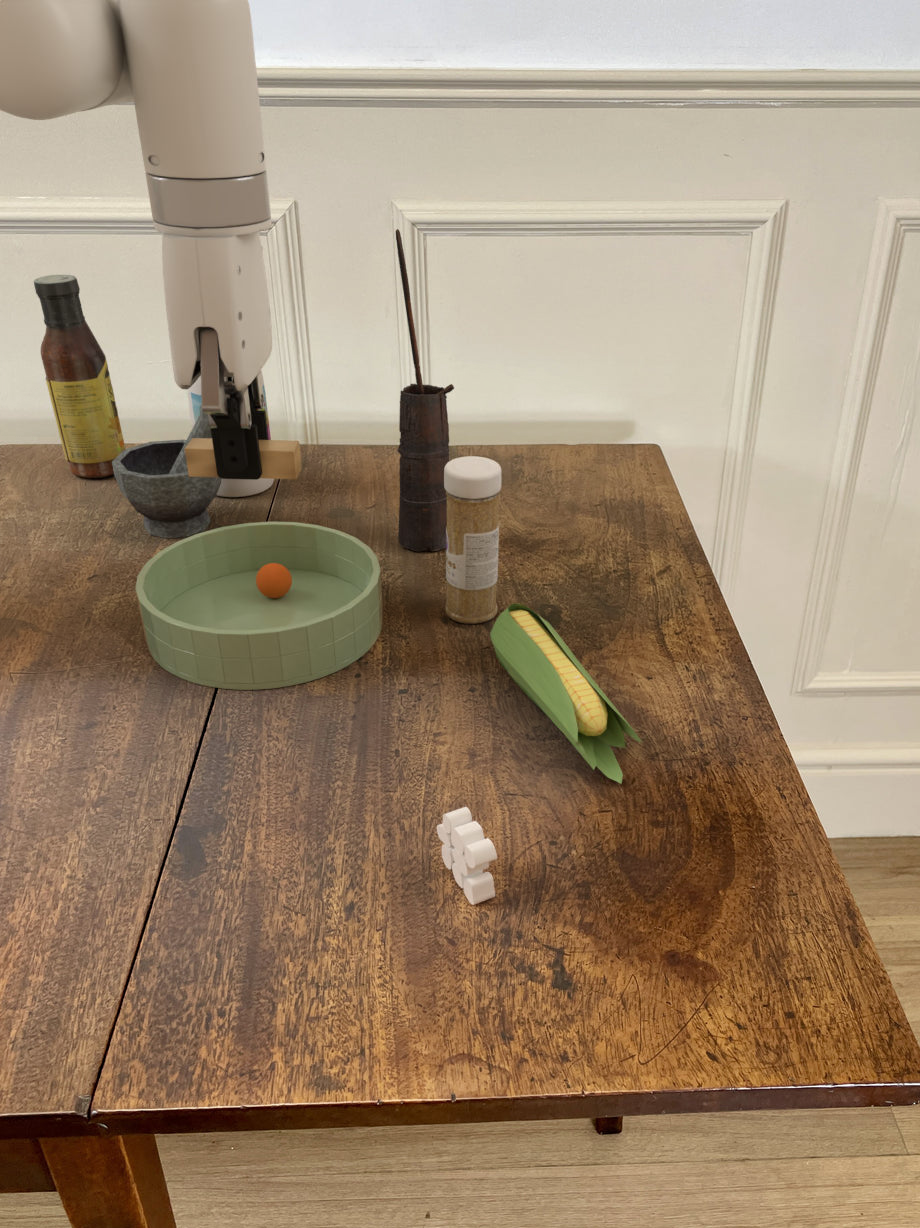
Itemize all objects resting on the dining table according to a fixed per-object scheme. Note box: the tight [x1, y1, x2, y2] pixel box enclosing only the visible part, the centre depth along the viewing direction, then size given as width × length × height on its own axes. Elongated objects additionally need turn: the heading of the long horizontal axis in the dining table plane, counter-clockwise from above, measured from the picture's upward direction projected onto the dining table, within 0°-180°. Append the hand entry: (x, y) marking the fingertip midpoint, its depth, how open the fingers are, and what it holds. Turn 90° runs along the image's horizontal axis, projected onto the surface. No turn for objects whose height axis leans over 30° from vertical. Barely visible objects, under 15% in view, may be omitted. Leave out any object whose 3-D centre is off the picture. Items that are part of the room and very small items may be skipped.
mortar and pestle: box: [112, 404, 221, 539], centre depth 99 cm, size 11×9×12 cm
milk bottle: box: [186, 370, 275, 498], centre depth 105 cm, size 8×8×20 cm
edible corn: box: [489, 602, 643, 784], centre depth 76 cm, size 5×20×5 cm, turn 23°
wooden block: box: [185, 438, 303, 480], centre depth 77 cm, size 8×2×2 cm, turn 89°
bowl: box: [135, 521, 384, 691], centre depth 85 cm, size 19×19×5 cm
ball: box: [256, 563, 292, 598], centre depth 89 cm, size 3×3×3 cm
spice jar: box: [444, 455, 503, 625], centre depth 85 cm, size 5×5×13 cm
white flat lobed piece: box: [436, 806, 498, 906], centre depth 61 cm, size 5×1×4 cm, turn 29°
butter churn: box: [395, 228, 455, 552], centre depth 93 cm, size 9×10×28 cm
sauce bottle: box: [33, 274, 126, 479], centre depth 108 cm, size 7×6×20 cm
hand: (244, 468), depth 78 cm, fingers closed on wooden block, 2 cm apart
